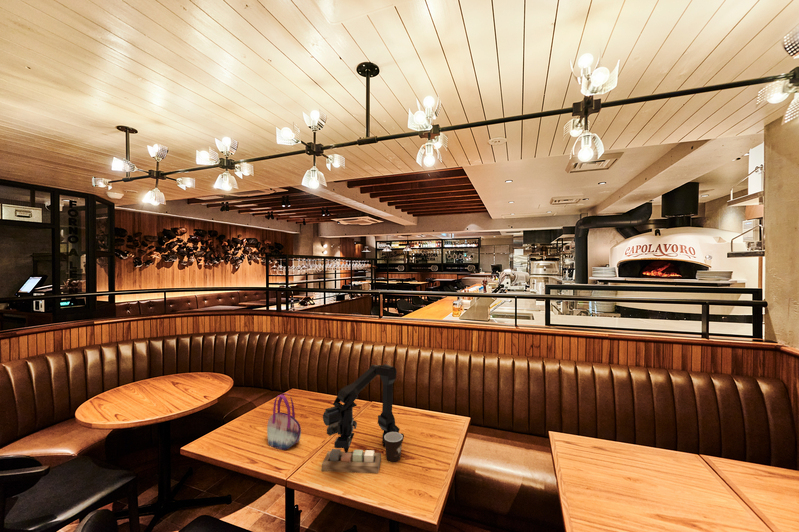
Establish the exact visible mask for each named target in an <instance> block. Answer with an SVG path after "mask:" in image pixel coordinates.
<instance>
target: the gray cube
mask: <svg viewBox="0 0 799 532" xmlns="http://www.w3.org/2000/svg"><path fill="white" fill-rule="evenodd" d="M341 449H342V448H332V449H331V450H330V451H331V452H330V461H339V462H341V461H340V458H341V452H342V451H341Z"/></svg>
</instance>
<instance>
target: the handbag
mask: <svg viewBox="0 0 799 532" xmlns="http://www.w3.org/2000/svg"><path fill="white" fill-rule="evenodd" d="M286 395H288V396H289V397H290V403H291V406H290V403H289V400H288V398H287V397H286ZM277 400H278V401H277ZM282 400H283V402H284V405H285V406H286V410H287V413H286V412H283V411H282V412H281V403H282ZM276 407H277V410H276ZM272 409H273V411H272V414H271V415H270V416H269V418H268V421H267V426H266V433H267V436H266V437H267V444H268V446H269V447H271V448H274V449H278V450H281V451H287V450H288V449H290V448H291V447H292V446H294V445H296V444H297V443H298V442H300V439H301V435H302V428H301V424H300V423H299V421H298V420H297V419H296V416H295V415H296V413H295V406H294V401H293V398H292V396H290V394H289V393H285V392H283V393H281V394H279V395H277V396H276V398H275V399H274V401H273V408H272ZM276 411H277V412H276Z"/></svg>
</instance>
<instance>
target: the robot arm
mask: <svg viewBox="0 0 799 532" xmlns="http://www.w3.org/2000/svg"><path fill="white" fill-rule="evenodd" d="M397 371H398V370H397V368H396V367H395V366H392V365H389V364H387V363H386V364H385V363H384V364H383V365H380V364H377V365H375V364H371V365H370V366H369V368H368V369H367V370H366V371H364V373H362V374H361V375H360V376H359V377H358V378H356V380H355V381H353V382H352V383H351V384H348V385H345V386H344V387H343V388H341V389H340V390H339V391H338V393H337V394H338V395H337V396H336V397H335V400H334V402H333V403H332V405H333V406H331V407H328V408H325V409H324V412H323V414H322V420H323V424H324V425H325V426H327V428H326V434H327V435H328V436H329V437H331V436H332V435H335V434H337V435H338V437H336V439H335V440H334V444H333V445H334V446H333V447H334V449H343V452H345V453H347V452H349V450H350V447H351V443H352V441H353V439H354V435H355V433H354V430H356V429H357V427H358V426H357V425H358V422H357V421H356V420H354V417H353V416H354V415H353V413H354V412H353V410H354V409H353V408H355V407H357V406H358V404H357V403H355V401H356V400H357V398H358V396H359V394H360V392H361V391H362V390H364V389H365V388H366V386H367V385H368V384H369V383H370V382H372V381H373V379H375V378H376V377H377V376H380V379H381V381H382V410H381V413H380V414H379V415H377V424H378V427H380V430H382V431H383V432H382V435H381V436H382V441H381V442H382V447H384V448H385V440H384V436H385V435H386V434H387V433H389V432H398V433H400V429H401V428H400V427H399V426H397V425H396V419H395V416H394V413H393V395H394V393H393V391H394V390H393V389H394V388H393V387H394V386H393V385H394V382H395V381H396V379H397V375H398V374H397V373H398V372H397ZM342 403H343V404H342Z"/></svg>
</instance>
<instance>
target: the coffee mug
mask: <svg viewBox="0 0 799 532" xmlns="http://www.w3.org/2000/svg"><path fill="white" fill-rule="evenodd" d="M404 435H405V434H404V433H403V432H402V433H400V432H399V433H398V432H389V433H387V434H386V435H385V436H384V440H385V447H384V448H385V455H386V460H387V461H388V462H389V463H397V462H399V461H400V460H401V456H402V455H401V454H402V447H403V446H402V445H403V440H404V437H405V436H404Z"/></svg>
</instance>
